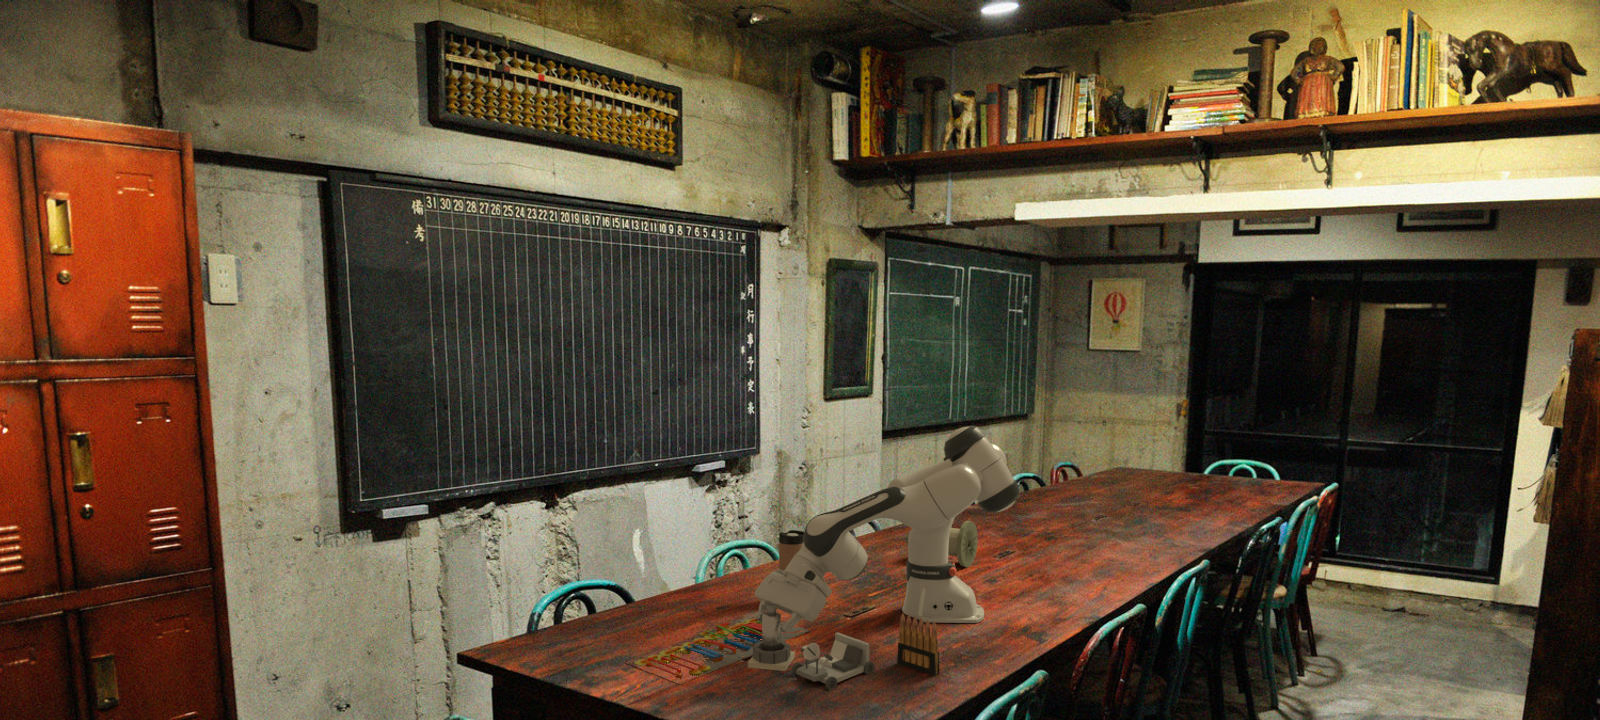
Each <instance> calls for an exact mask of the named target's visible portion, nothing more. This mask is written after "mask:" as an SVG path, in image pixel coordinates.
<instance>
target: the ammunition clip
mask: <svg viewBox="0 0 1600 720" xmlns="http://www.w3.org/2000/svg"><path fill="white" fill-rule="evenodd" d="M905 618H906V617H905V613H904V612H902V613H901V615H900V621H899V624H900V625H899V633H898V643H897V657H896V663H897V664H898V665H899V666H902V667H905V668H909V669H913V670H914V671H918V672H921V673H924V674H927V675H930V676H933V677H935V676H937V675H940V651H939V649H938V647H939V644H938V643H939V641H938V632H937V631H938V630H937V629H938V627H937V625H936V622H932V626H931V624H930V622H929V621H928V620H927V622H925V626H924V622H923V620H922V618H921V619H920V620H919V623H918V619H917V618H916V617H913V618H912V617H911V616H910V615H907V618H906V619H905ZM911 618H912V619H913V621H912V619H911Z"/></svg>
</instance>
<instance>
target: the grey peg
mask: <svg viewBox="0 0 1600 720" xmlns="http://www.w3.org/2000/svg"><path fill="white" fill-rule="evenodd" d="M781 622H782V614H781V613H780V612H777V609H776V606H775V605H769V606H767V609H766V613H764V614H762V650H763V651H773V652H774V651H778V650H781V629H780V627H781Z"/></svg>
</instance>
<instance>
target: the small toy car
mask: <svg viewBox="0 0 1600 720" xmlns="http://www.w3.org/2000/svg"><path fill="white" fill-rule="evenodd" d="M870 647H871V646H870V643H869V642H866V641H863V640H860V639H857V638H854V637H852V636H849V635H846V634H843V633H840V632H835V633H834V642H833V644H832V647H831V651H830V654H829V653H825V654H824V656H821V657H820V655H821V654H820V646H819V644H817V643H816V642H811V643H809V644H807V645H806V644H805V645H804V646H801V649H800V652H801V653H802V654H803V657H804V659H805V665H803V664H802V663H801V662H796V663H794V664H793V666H792V668H791V674H792V675H793V677H797V676H800V677H802V678H805V679H808V680H810V681H812V682H820V683H822V684H825V686H824V687H825V689H826V690H827V691H832V690H834V689H836V688H837V686H838V683H840V682H842V681H844V680H845V681H846V680H847V679H849V678H851V677H854V676H857V675H859V674H863V673H864V674H865V675H868V676H869V675H870V674H872V673H874V672H875V668H876V667H875V663H874V662H872V661H871V660H870V652H871V651H870ZM808 661H814V662H811V663H808Z"/></svg>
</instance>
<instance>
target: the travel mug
mask: <svg viewBox="0 0 1600 720" xmlns="http://www.w3.org/2000/svg"><path fill="white" fill-rule="evenodd" d="M778 535H779V538H778V539H779V540H778V541H779V542H778V543H779V545H778V551H779V552H778V556H779V557H778V558H779V559H778V569H782V570H783V571H785V569H786V567H787V566H788V564H789V563H790V561H791V560H792V558H793V557H794V555H795V554H796V553H798V552H799V550H800V549H801V547H802V544H803V542H804V531H802V530H797V529H796V530H795V529H793V530H788V531H787V532H783V531H780V532H779V534H778Z"/></svg>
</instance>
